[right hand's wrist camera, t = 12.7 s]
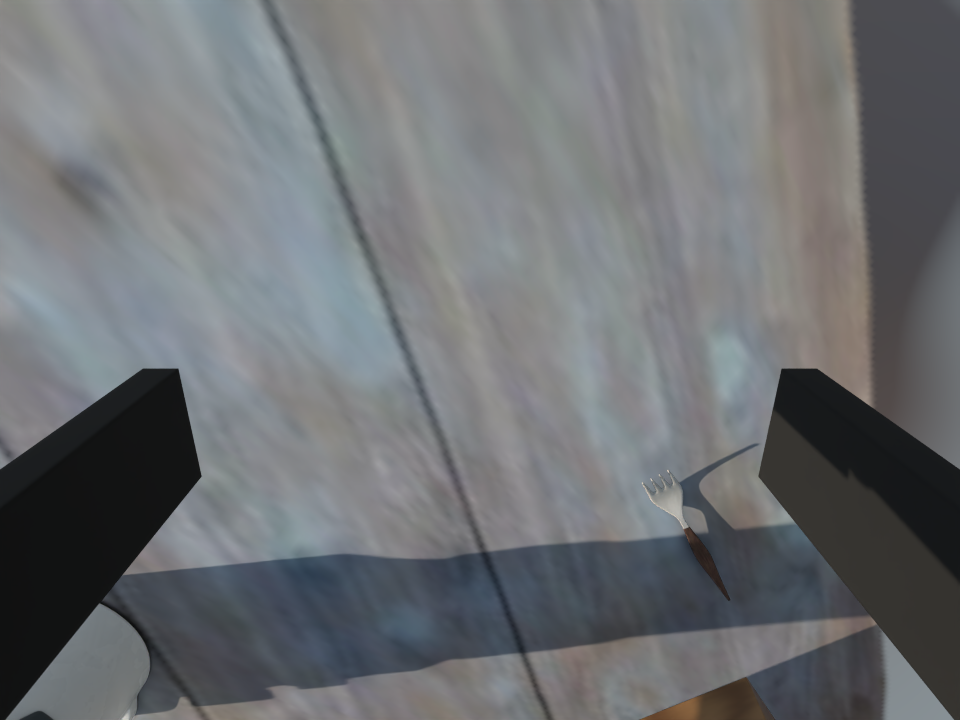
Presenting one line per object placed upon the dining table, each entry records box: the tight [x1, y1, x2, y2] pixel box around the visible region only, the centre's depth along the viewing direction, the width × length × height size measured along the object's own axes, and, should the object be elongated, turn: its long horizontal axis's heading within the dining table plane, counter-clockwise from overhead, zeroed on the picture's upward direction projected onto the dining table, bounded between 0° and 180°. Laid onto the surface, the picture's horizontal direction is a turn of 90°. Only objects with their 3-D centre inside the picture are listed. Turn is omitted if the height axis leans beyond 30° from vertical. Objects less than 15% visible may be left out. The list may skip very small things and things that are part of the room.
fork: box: [642, 470, 730, 601], centre depth 46 cm, size 3×16×2 cm, turn 32°
